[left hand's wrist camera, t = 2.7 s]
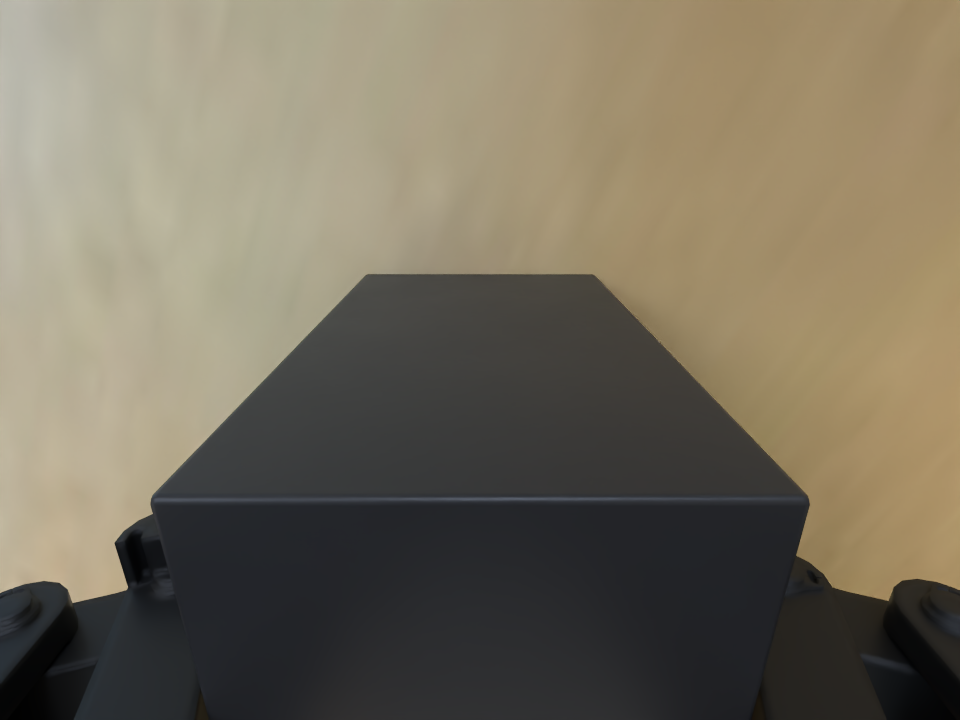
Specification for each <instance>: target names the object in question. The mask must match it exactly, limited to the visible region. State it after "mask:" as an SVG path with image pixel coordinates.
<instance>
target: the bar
mask: <svg viewBox="0 0 960 720" xmlns="http://www.w3.org/2000/svg"><path fill="white" fill-rule="evenodd" d="M809 506H810V503H809V498H808V496H807V495H806V493H805V492H804V491H803V490H802V489H801V488H800V487H799V486H798V485H797V484H796V483H795V482H794V481H793V480H792V479H791V478H790V477H789V476H788V475H787V474H786V473H785V472H784V471H783V470H782V469H781V468H780V467H779V466H778V465H777V464H776V462H775V461H774V460H773V459H772V458H771V457H770V456H769V455H768V454H767V453H766V452H765V451H764V450H763V449H762V448H761V447H760V446H759V445H758V444H757V443H756V442H755V441H754V440H753V439H752V438H751V437H750V436H749V435H748V434H747V433H746V431H745V430H744V429H743V428H742V427H741V426H740V425H739V424H738V423H737V422H736V421H735V420H734V419H733V418H732V417H731V416H730V415H729V414H728V413H727V412H726V411H725V410H724V409H723V408H722V407H721V406H720V405H719V404H718V403H717V401H716V400H715V399H714V398H713V397H712V396H711V395H710V394H709V393H708V392H707V391H706V390H705V389H704V388H703V387H702V386H701V385H700V384H699V383H698V382H697V381H696V380H695V379H694V378H693V377H692V376H691V375H690V374H689V373H688V372H687V370H686V369H685V368H684V367H683V366H682V365H681V364H680V363H679V362H678V361H677V360H676V359H675V358H674V357H673V356H672V355H671V354H670V353H669V352H668V351H667V350H666V349H665V348H664V347H663V346H662V345H661V344H660V343H659V342H658V341H657V339H656V338H655V337H654V336H653V335H652V334H651V333H650V332H649V331H648V330H647V329H646V328H645V327H644V326H643V325H642V324H641V323H640V322H639V321H638V320H637V319H636V318H635V317H634V316H633V315H632V314H631V313H630V312H629V311H628V309H627V308H626V307H625V306H624V305H623V304H622V303H621V302H620V301H619V300H618V299H617V298H616V297H615V296H614V295H613V294H612V293H611V292H610V291H609V290H608V289H607V288H606V287H605V286H604V285H603V284H602V283H601V282H600V281H599V280H598V278H597V277H596V276H595V275H517V274H368V275H366V276H365V277H364V278H363V279H362V280H361V281H360V282H359V283H358V284H357V285H356V286H355V287H354V288H353V289H352V290H351V291H350V292H349V293H348V294H347V295H346V296H345V297H344V298H343V299H342V300H341V302H340V303H339V304H338V305H337V306H336V307H335V308H334V309H333V310H332V311H331V312H330V313H329V314H328V315H327V316H326V317H325V318H324V319H323V320H322V321H321V322H320V323H319V324H318V325H317V326H316V327H315V328H314V329H313V330H312V331H311V332H310V334H309V335H308V336H307V337H306V338H305V339H304V340H303V341H302V342H301V343H300V344H299V345H298V346H297V347H296V348H295V349H294V350H293V351H292V352H291V353H290V354H289V355H288V356H287V357H286V358H285V359H284V360H283V361H282V362H281V363H280V364H279V365H278V367H277V368H276V369H275V370H274V371H273V372H272V373H271V374H270V375H269V376H268V377H267V378H266V379H265V380H264V381H263V382H262V383H261V384H260V385H259V386H258V387H257V388H256V389H255V390H254V391H253V392H252V393H251V394H250V395H249V396H248V397H247V398H246V400H245V401H244V402H243V403H242V404H241V405H240V406H239V407H238V408H237V409H236V410H235V411H234V412H233V413H232V414H231V415H230V416H229V417H228V418H227V419H226V420H225V421H224V422H223V423H222V424H221V425H220V426H219V427H218V428H217V429H216V430H215V431H214V433H213V434H212V435H211V436H210V437H209V438H208V439H207V440H206V441H205V442H204V443H203V444H202V445H201V446H200V447H199V448H198V449H197V450H196V451H195V452H194V453H193V454H192V455H191V456H190V457H189V458H188V459H187V460H186V461H185V462H184V463H183V464H182V466H181V467H180V468H179V469H178V470H177V471H176V472H175V473H174V474H173V475H172V476H171V477H170V478H169V479H168V480H167V481H166V482H165V483H164V484H163V485H162V486H161V487H160V488H159V489H158V490H157V491H156V492H155V493H154V494H153V496H152V499H151V508H152V512H153V515H154V519H155V523H156V526H157V530H158V534H159V537H160V541H161V545H162V549H163V552H164V556H165V560H166V563H167V567H168V571H169V574H170V578H171V582H172V585H173V589H174V593H175V596H176V600H177V604H178V607H179V611H180V615H181V618H182V622H183V626H184V630H185V633H186V637H187V641H188V644H189V648H190V652H191V655H192V659H193V663H194V666H195V670H196V674H197V677H198V681H199V685H200V688H201V692H202V696H203V700H204V703H205V707H206V711H207V714H208V718H209V720H751V718H752V715H753V711H754V707H755V704H756V700H757V696H758V693H759V689H760V685H761V682H762V678H763V674H764V671H765V667H766V663H767V660H768V656H769V652H770V649H771V645H772V641H773V638H774V634H775V630H776V627H777V623H778V619H779V616H780V612H781V608H782V605H783V601H784V597H785V594H786V590H787V586H788V583H789V579H790V575H791V572H792V568H793V564H794V561H795V557H796V553H797V550H798V546H799V542H800V539H801V535H802V531H803V528H804V524H805V520H806V517H807V513H808V509H809Z"/></svg>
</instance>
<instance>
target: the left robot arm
mask: <svg viewBox="0 0 960 720" xmlns="http://www.w3.org/2000/svg"><path fill="white" fill-rule="evenodd" d="M115 546H116V549H117V553H118V556H119V559H120V562H121V565H122V569H123V572H124V575H125V578H126V582H127V585H128V589H127V590H126V591H122V592H119V593H115V594H111V595H107V596H102V597H98V598H94V599H89V600H85V601H80V602H76V603H72V601H71V598H70V595H69V592H68V590H67V589H66V588H65V587H64V586H62V585H61V584H60V583H56V582H47V581H42V582H36V583H30V584H24V585H21V586H19V587H15V588H13V589H10V590H7V591H5V592H2V593H0V720H209V718H208V714H207V711H206V707H205V703H204V700H203V696H202V692H201V688H200V685H199V681H198V677H197V674H196V670H195V666H194V663H193V659H192V655H191V652H190V648H189V644H188V641H187V637H186V633H185V630H184V626H183V622H182V618H181V615H180V611H179V607H178V604H177V600H176V596H175V593H174V589H173V585H172V582H171V578H170V574H169V571H168V567H167V563H166V560H165V556H164V552H163V549H162V545H161V541H160V537H159V534H158V530H157V526H156V523H155V519H154V515H153V514H152V515H150V516H148V517H146V518H143V519H141V520H139V521H137V522H136V523H135V524H133V525H132V526H130V527H129V528H128V529H126V530H125V531H124V532H123V533H122V534H121V535H120V537H119V538H118V539H117V541H116V542H115ZM751 720H960V590H957V589H955V588H952V587H949V586H947V585H943V584H941V583H938V582H932V581H926V580H920V579H913V580H904V581H901V582H900V583H899V584H897V585H896V586H895V587H894V588H893V591H892V594H891V596H890V599H889V601H885V600H881V599H877V598H872V597H868V596H863V595H859V594H855V593H850V592H846V591H842V590H839V589H835V588H832V586H831V585H830V583H829V582H828V580H827V579H826V577H825V576H824V574H823V573H821V572H820V571H819V570H818V569H816V568H815V567H814V566H813V565H812V564H810V563H809V562H807V561H805V560H803V559H801V558H799V557H797V556H796V557H795V561H794V564H793V568H792V572H791V575H790V579H789V583H788V586H787V590H786V594H785V597H784V601H783V605H782V608H781V612H780V616H779V619H778V623H777V627H776V630H775V634H774V638H773V641H772V645H771V649H770V652H769V656H768V660H767V663H766V667H765V671H764V674H763V678H762V682H761V685H760V689H759V693H758V696H757V700H756V704H755V707H754V711H753V715H752V718H751Z"/></svg>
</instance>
